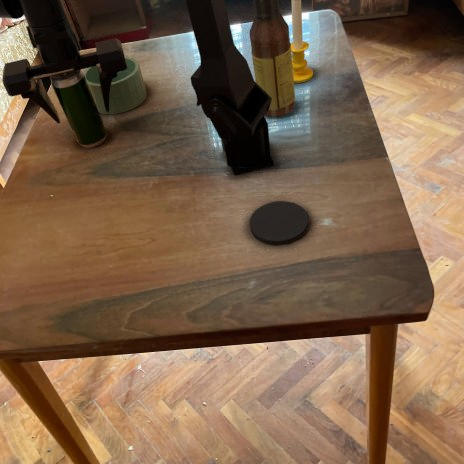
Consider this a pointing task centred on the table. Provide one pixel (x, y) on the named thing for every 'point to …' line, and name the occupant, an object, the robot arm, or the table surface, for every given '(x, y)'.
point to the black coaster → (279, 223)
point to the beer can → (79, 108)
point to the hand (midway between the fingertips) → (83, 116)
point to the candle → (299, 46)
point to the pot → (119, 88)
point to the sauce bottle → (272, 56)
